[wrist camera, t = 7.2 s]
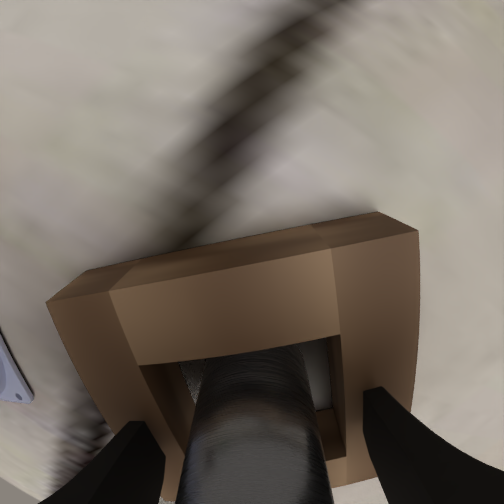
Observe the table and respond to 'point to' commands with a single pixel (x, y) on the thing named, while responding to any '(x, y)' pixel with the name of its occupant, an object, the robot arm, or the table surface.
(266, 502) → the round peg
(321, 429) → the square wooden ring
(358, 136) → the table surface
